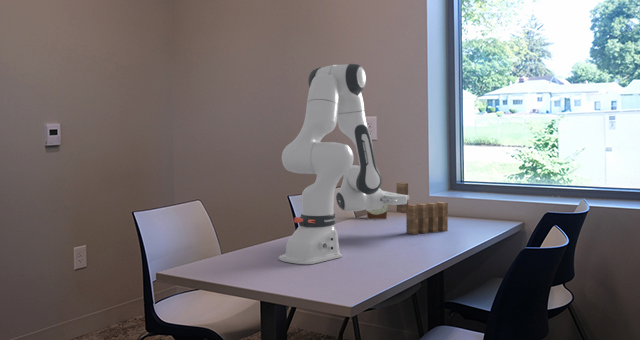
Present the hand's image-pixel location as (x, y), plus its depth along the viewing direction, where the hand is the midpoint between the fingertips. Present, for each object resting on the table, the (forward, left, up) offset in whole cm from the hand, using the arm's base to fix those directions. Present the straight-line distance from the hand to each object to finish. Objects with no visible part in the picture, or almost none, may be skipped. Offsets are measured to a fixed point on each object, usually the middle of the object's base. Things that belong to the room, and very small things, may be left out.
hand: (404, 196), depth 219 cm
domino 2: (+3, -2, -16) cm, 16 cm away
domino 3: (+8, -5, -16) cm, 18 cm away
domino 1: (-1, 0, -7) cm, 7 cm away
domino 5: (+16, -10, -16) cm, 25 cm away
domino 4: (+12, -7, -16) cm, 21 cm away
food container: (+31, +30, -16) cm, 46 cm away
